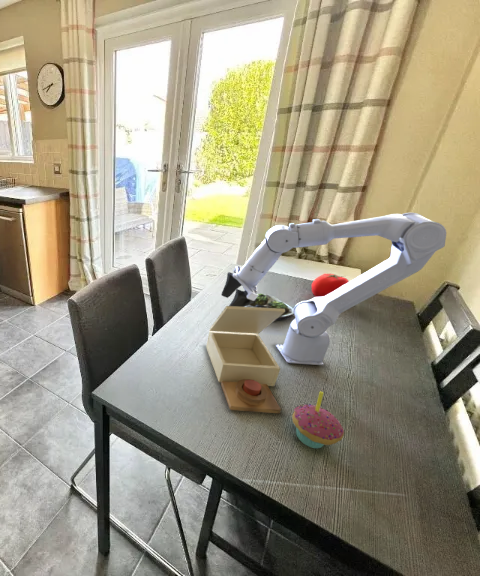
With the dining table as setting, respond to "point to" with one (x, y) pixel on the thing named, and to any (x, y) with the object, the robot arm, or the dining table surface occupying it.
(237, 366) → the bin
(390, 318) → the dining table surface
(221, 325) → the lid
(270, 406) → the wooden base board
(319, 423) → the cupcake
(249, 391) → the button
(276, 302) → the salad plate
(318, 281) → the tomato
